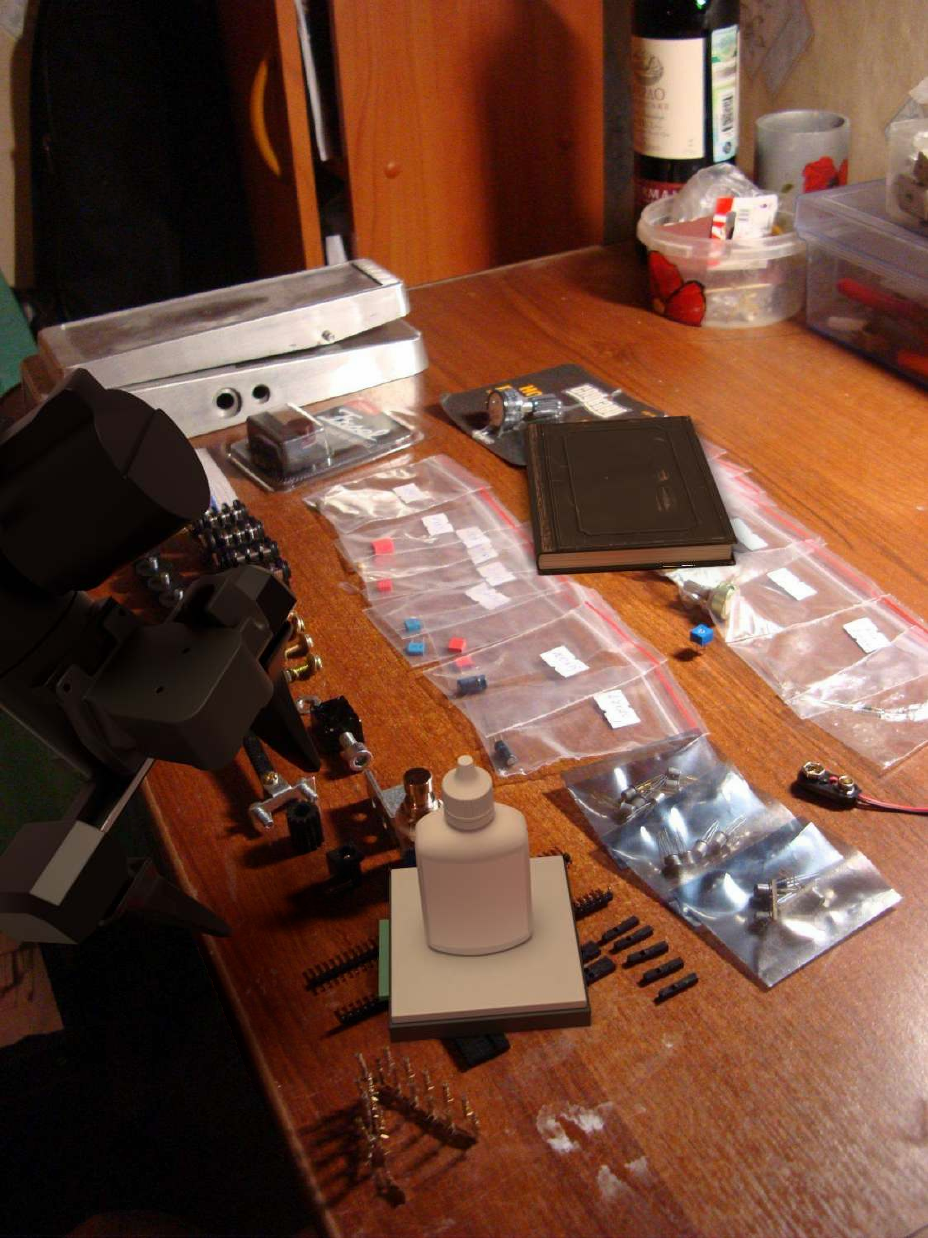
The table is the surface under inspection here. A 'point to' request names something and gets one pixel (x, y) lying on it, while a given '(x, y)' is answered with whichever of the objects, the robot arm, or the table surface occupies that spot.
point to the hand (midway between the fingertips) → (273, 848)
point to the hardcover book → (623, 496)
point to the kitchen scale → (483, 968)
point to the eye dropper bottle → (473, 868)
